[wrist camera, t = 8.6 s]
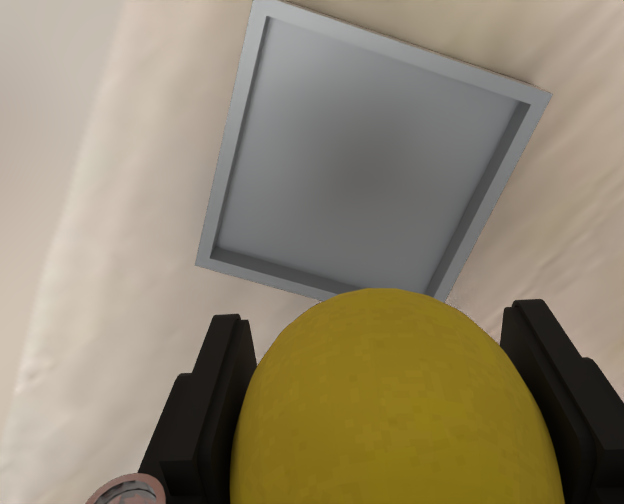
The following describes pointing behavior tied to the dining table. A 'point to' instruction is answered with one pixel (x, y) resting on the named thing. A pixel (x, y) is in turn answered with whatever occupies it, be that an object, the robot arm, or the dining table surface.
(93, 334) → the dining table surface
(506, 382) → the lemon
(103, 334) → the dining table surface
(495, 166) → the tray
